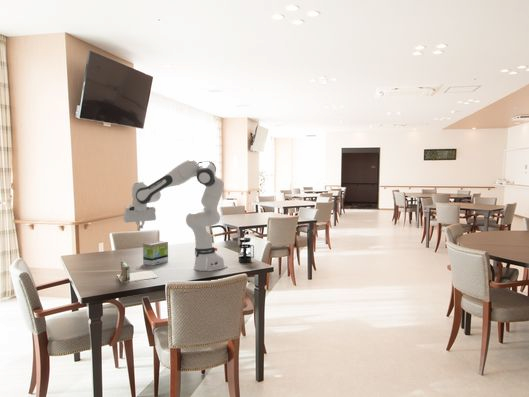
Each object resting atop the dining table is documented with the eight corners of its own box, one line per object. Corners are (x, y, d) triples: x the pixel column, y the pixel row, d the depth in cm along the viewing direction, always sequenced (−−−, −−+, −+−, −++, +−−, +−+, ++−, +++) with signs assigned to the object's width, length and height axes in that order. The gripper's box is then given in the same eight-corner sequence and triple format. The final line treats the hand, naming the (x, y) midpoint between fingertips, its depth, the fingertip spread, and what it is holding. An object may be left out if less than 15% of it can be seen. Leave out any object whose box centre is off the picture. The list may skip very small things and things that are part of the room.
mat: (150, 270, 243) (150, 270, 243) (157, 277, 226) (157, 277, 226) (116, 275, 232) (116, 274, 232) (121, 283, 216) (121, 282, 216)
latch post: (127, 280, 221) (126, 265, 220) (128, 282, 217) (128, 267, 217) (120, 281, 219) (119, 266, 218) (121, 283, 215) (120, 268, 215)
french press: (237, 263, 260) (237, 231, 259) (237, 260, 269) (236, 229, 268) (254, 263, 262) (254, 230, 260) (253, 260, 271) (252, 228, 269)
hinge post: (126, 274, 234) (125, 260, 234) (127, 275, 231) (126, 261, 230) (119, 275, 233) (118, 261, 232) (120, 276, 229) (119, 262, 228)
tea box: (153, 266, 256) (152, 244, 256) (142, 264, 261) (142, 243, 260) (168, 261, 270) (168, 241, 269) (158, 260, 274) (158, 240, 274)
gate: (122, 275, 229) (122, 262, 229) (125, 275, 230) (124, 262, 229) (127, 281, 217) (126, 267, 216) (129, 280, 218) (129, 266, 217)
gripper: (153, 206, 249) (154, 226, 250) (122, 207, 237) (123, 229, 238) (156, 206, 244) (157, 227, 245) (125, 208, 232) (125, 230, 233)
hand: (140, 228), depth 242 cm, fingers closed
